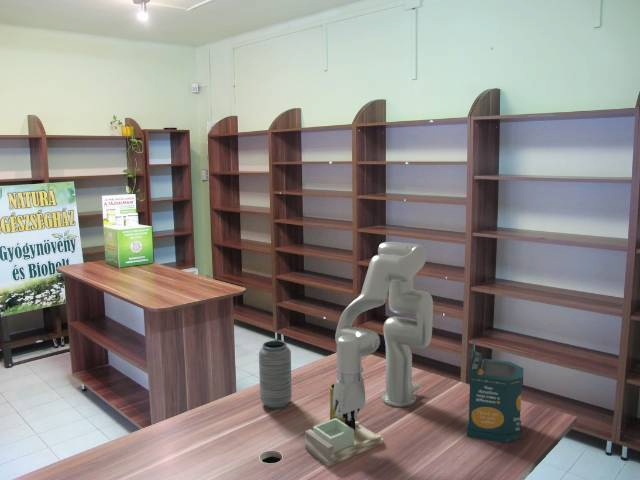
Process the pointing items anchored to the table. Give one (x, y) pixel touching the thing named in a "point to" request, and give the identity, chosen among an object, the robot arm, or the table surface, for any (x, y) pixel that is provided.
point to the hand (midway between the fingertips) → (350, 429)
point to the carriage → (336, 434)
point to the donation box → (494, 399)
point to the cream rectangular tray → (326, 450)
